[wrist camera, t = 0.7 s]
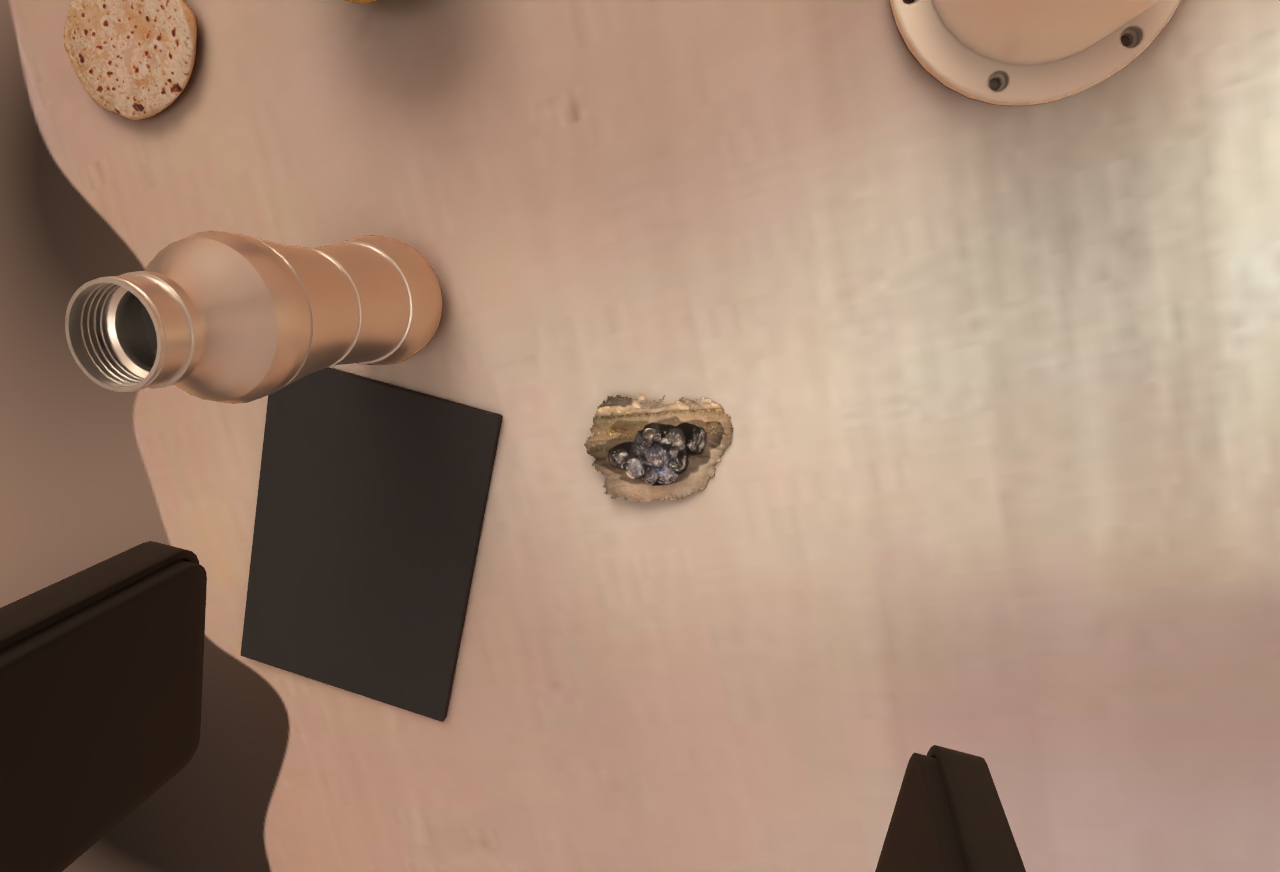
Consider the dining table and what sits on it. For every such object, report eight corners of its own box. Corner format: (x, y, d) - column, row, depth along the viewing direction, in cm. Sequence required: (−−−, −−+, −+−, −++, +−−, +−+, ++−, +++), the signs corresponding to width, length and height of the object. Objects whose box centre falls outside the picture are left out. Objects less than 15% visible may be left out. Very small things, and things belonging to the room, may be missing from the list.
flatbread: (119, 142, 46) (104, 140, 45) (52, 12, 45) (35, 7, 44) (229, 74, 44) (216, 70, 43) (161, -64, 43) (147, -71, 42)
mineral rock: (571, 409, 45) (562, 416, 43) (705, 355, 43) (701, 360, 41) (619, 519, 46) (612, 531, 44) (753, 471, 44) (751, 481, 42)
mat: (277, 353, 48) (272, 354, 47) (503, 415, 46) (499, 417, 46) (245, 652, 53) (240, 655, 53) (446, 717, 51) (443, 722, 51)
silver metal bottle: (352, 357, 47) (45, 436, 28) (341, 235, 45) (8, 229, 26) (459, 359, 46) (215, 442, 27) (451, 234, 44) (186, 226, 25)
